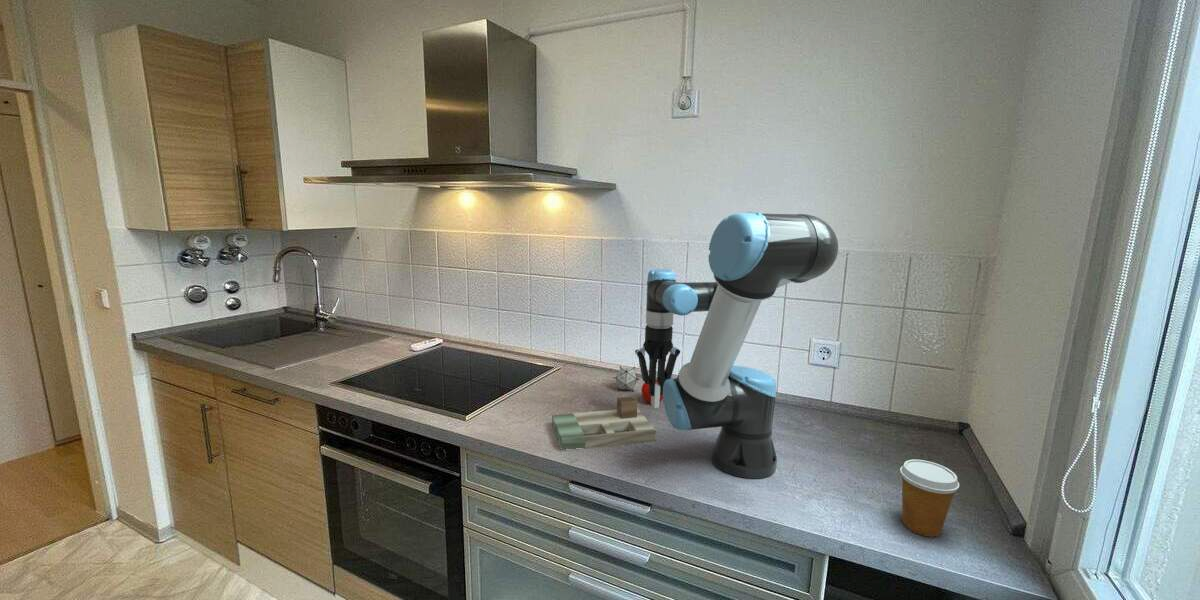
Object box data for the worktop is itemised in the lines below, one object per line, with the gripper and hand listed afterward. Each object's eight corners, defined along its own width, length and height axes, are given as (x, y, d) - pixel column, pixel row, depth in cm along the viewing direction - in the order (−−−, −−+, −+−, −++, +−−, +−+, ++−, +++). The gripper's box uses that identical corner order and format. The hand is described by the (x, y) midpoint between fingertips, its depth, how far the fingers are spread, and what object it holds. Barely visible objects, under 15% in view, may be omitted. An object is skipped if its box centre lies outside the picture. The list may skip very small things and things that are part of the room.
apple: (637, 398, 158) (638, 376, 156) (660, 396, 159) (661, 375, 158) (644, 408, 150) (645, 385, 149) (669, 406, 152) (670, 383, 150)
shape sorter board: (655, 441, 129) (656, 430, 128) (562, 450, 122) (562, 439, 122) (636, 417, 143) (637, 407, 142) (551, 425, 136) (552, 415, 136)
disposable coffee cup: (955, 549, 90) (966, 489, 87) (895, 533, 94) (904, 476, 91) (944, 520, 98) (954, 465, 96) (890, 507, 102) (898, 454, 100)
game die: (627, 402, 163) (627, 386, 156) (608, 388, 168) (607, 371, 160) (644, 385, 168) (645, 368, 160) (625, 371, 172) (625, 354, 164)
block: (636, 417, 136) (637, 402, 135) (621, 418, 135) (621, 403, 134) (631, 410, 140) (632, 396, 139) (616, 412, 139) (617, 397, 138)
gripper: (675, 321, 140) (671, 399, 144) (632, 323, 137) (629, 402, 141) (686, 327, 133) (681, 409, 137) (641, 329, 130) (637, 413, 134)
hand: (655, 405), depth 139 cm, fingers closed
